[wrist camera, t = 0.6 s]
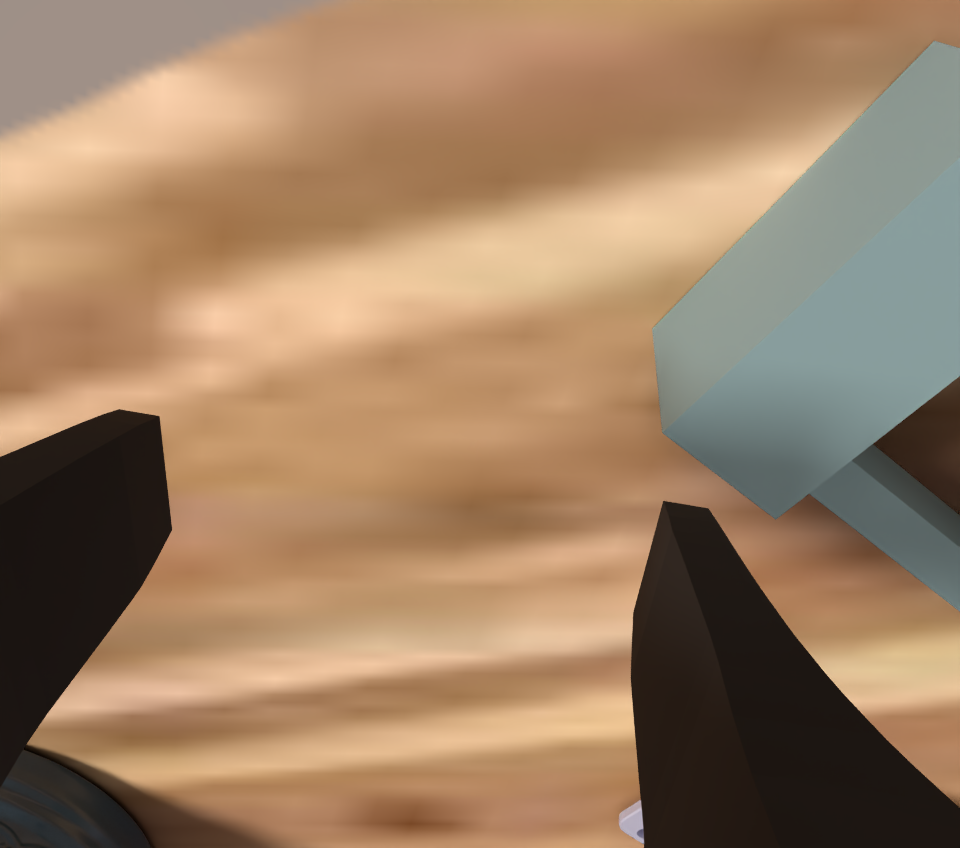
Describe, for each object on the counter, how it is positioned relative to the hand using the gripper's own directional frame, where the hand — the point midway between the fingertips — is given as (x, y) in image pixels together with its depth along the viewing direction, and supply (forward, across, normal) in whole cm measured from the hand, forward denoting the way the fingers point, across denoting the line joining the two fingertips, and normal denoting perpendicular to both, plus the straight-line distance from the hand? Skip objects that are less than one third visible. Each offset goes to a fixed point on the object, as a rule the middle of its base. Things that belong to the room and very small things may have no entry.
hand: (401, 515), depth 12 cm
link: (+10, -12, +1) cm, 15 cm away
